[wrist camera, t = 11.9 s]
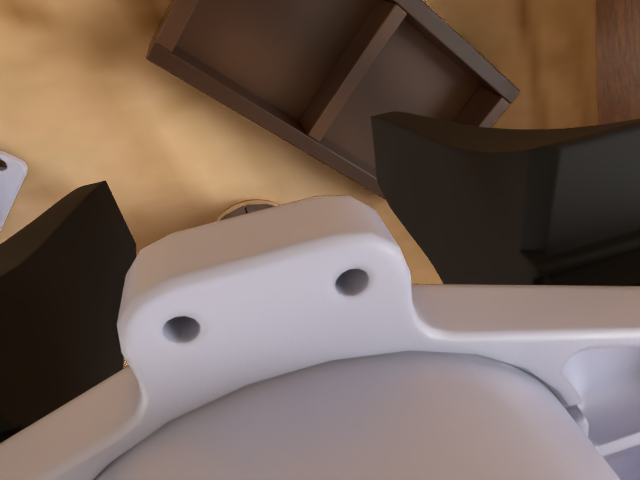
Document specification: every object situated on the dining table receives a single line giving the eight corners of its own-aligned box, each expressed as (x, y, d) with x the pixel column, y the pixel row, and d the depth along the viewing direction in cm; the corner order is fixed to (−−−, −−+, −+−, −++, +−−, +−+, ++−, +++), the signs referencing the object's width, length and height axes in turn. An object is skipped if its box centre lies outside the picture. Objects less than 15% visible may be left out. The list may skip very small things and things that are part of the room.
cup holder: (399, 197, 27) (417, 218, 25) (148, 45, 20) (145, 58, 18) (492, 78, 24) (521, 92, 22) (244, -145, 17) (253, -155, 15)
